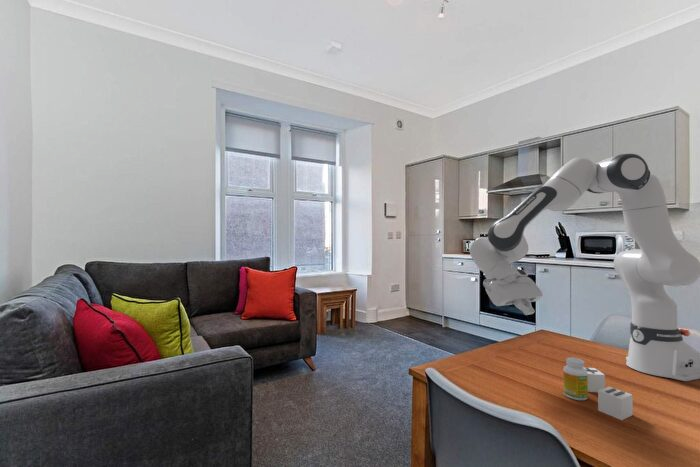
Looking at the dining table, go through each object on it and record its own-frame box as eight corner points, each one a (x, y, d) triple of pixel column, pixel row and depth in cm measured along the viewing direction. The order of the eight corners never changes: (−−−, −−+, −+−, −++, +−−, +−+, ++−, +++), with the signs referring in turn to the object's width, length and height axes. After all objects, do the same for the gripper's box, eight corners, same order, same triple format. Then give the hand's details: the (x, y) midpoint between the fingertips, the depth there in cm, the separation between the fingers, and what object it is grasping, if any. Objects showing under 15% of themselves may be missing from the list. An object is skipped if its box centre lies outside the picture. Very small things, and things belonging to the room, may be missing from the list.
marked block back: (594, 385, 98) (594, 367, 98) (605, 393, 93) (604, 374, 93) (576, 384, 99) (575, 366, 99) (585, 391, 94) (585, 373, 94)
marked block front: (609, 406, 86) (609, 385, 86) (632, 415, 82) (632, 393, 82) (598, 410, 84) (598, 389, 84) (621, 420, 79) (621, 398, 79)
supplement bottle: (580, 402, 88) (580, 364, 88) (559, 394, 92) (558, 358, 93) (592, 398, 90) (591, 361, 90) (570, 390, 95) (570, 355, 95)
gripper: (486, 273, 105) (514, 310, 97) (528, 270, 115) (558, 304, 106) (475, 286, 109) (500, 323, 101) (517, 282, 119) (544, 315, 110)
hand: (530, 313), depth 103 cm, fingers closed
